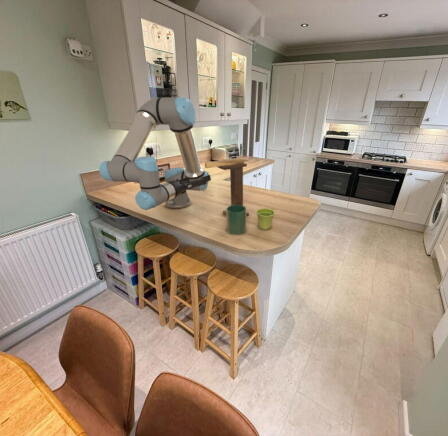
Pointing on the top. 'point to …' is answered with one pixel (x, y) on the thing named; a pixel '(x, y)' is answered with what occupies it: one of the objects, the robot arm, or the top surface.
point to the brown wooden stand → (236, 183)
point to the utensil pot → (236, 219)
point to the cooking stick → (224, 162)
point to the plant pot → (265, 218)
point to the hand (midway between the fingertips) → (199, 178)
